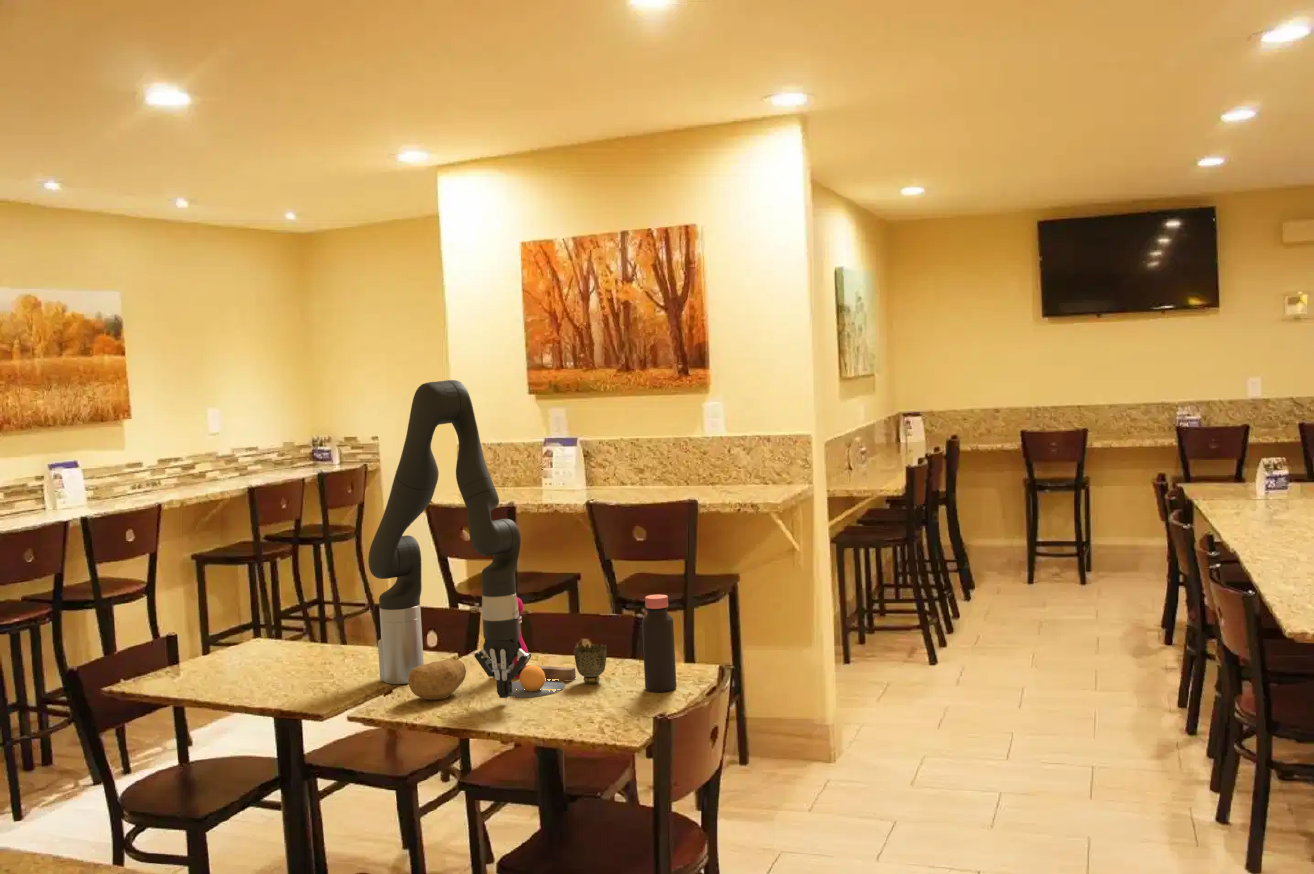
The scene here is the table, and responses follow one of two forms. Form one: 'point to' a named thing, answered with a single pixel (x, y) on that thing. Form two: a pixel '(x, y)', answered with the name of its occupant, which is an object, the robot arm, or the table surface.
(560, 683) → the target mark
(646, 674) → the bottle
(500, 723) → the table surface
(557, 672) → the strip
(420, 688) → the potato
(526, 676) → the ball
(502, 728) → the table surface
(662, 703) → the table surface
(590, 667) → the cup
